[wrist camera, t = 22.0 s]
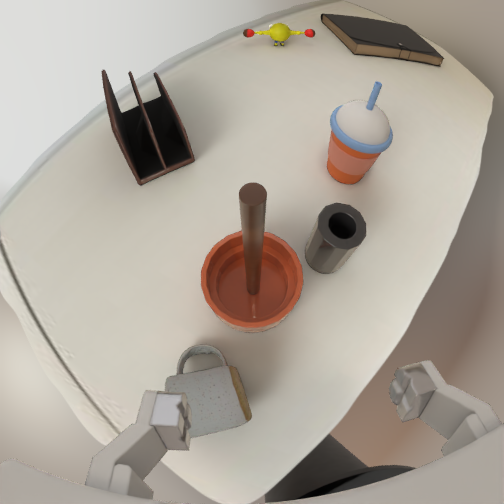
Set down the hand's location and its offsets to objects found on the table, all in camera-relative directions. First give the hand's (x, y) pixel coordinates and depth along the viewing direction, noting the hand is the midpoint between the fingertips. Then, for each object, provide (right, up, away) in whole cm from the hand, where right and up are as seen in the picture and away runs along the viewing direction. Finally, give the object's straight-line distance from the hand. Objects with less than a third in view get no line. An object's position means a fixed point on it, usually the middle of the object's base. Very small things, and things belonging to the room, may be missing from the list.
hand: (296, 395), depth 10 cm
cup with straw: (+13, +19, +35) cm, 42 cm away
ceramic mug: (-7, -12, +23) cm, 27 cm away
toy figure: (+5, +58, +50) cm, 77 cm away
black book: (+39, +70, +55) cm, 97 cm away
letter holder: (-19, +26, +38) cm, 50 cm away
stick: (-1, +1, +27) cm, 27 cm away
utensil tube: (+8, +5, +30) cm, 31 cm away
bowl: (-2, 0, +28) cm, 28 cm away
